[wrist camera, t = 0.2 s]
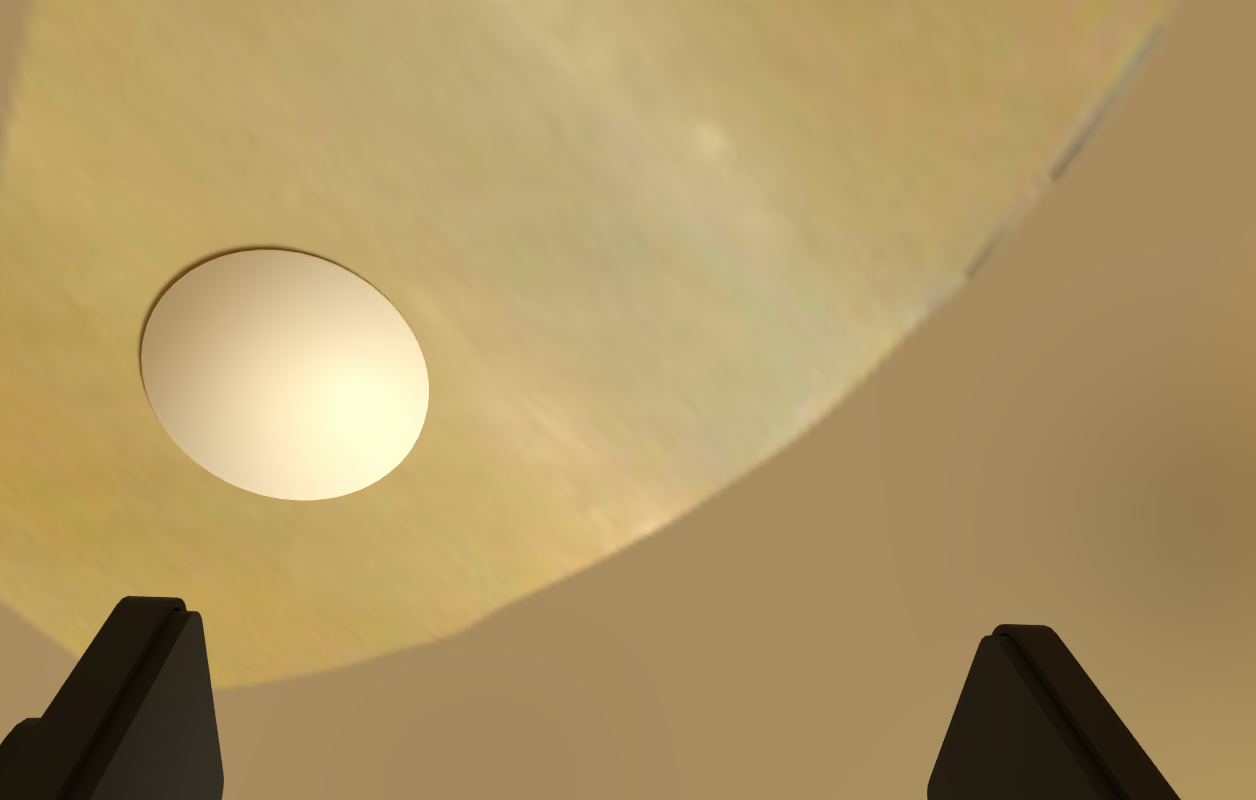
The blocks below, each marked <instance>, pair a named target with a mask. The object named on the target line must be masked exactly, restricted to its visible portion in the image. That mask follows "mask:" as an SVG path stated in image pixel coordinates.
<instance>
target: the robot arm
mask: <svg viewBox="0 0 1256 800" xmlns="http://www.w3.org/2000/svg"><path fill="white" fill-rule="evenodd" d="M223 785H224V776H223V768H222V760H221V753H220V746H219V739H218V731H217V724H216V717H215V710H214V702H213V695H212V688H211V680H210V673H209V666H208V659H207V651H206V644H205V637H204V630H203V623H202V618H201V615H200V613H199V612H196V611H187V610H186V606H185V603H184V601H183V600H182V599H180V598H172V597H140V596H127V597H125V598H123V599H121V601H120V602H119V603H118V604H117V605H116V607H115V608H114V610H113V611H112V613H111V614H110V616H109V617H108V619H107V620H106V622H105V623H104V625H103V626H102V628H101V629H100V631H99V632H98V634H97V635H96V637H95V638H94V640H93V641H92V643H91V644H90V646H89V647H88V649H87V650H86V651H85V653H84V654H83V656H82V657H81V659H80V660H79V662H78V663H77V665H76V667H75V668H74V669H73V671H72V672H71V674H70V676H69V677H68V679H67V680H66V681H65V683H64V684H63V686H62V687H61V689H60V690H59V692H58V693H57V695H56V696H55V698H54V699H53V701H52V702H51V704H50V705H49V707H48V708H47V710H46V711H45V713H44V714H43V716H42V717H41V718H27V719H25V720H23V721H22V722H20V723H19V724H17V725H16V726H15V727H14V728H13V729H12V731H11V732H10V733H9V734H8V735H7V736H6V738H5V739H4V740H3V742H2V743H1V745H0V800H221V799H222V794H223ZM927 798H928V800H1181V799H1180V798H1179V797H1178V795H1177V794H1176V793H1175V791H1174V790H1173V789H1172V787H1171V786H1170V785H1169V784H1168V782H1167V781H1166V779H1165V778H1164V777H1163V775H1162V774H1161V773H1160V771H1159V770H1158V769H1157V767H1156V766H1155V765H1154V763H1153V762H1152V761H1151V759H1150V758H1149V757H1148V755H1147V754H1146V753H1145V751H1144V750H1143V749H1142V747H1141V746H1140V745H1139V743H1138V742H1137V741H1136V739H1135V738H1134V737H1133V735H1132V734H1131V733H1130V731H1129V730H1128V728H1127V727H1126V726H1125V725H1124V723H1123V722H1122V721H1121V719H1120V718H1119V716H1118V715H1117V714H1116V712H1115V711H1114V710H1113V708H1112V707H1111V706H1110V704H1109V703H1108V702H1107V700H1106V699H1105V698H1104V696H1103V695H1102V694H1101V692H1100V691H1099V690H1098V689H1097V687H1096V686H1095V684H1094V683H1093V682H1092V680H1091V679H1090V678H1089V676H1088V675H1087V674H1086V672H1085V671H1084V670H1083V668H1082V667H1081V666H1080V664H1079V663H1078V662H1077V660H1076V659H1075V658H1074V656H1073V655H1072V653H1071V652H1070V651H1069V650H1068V648H1067V647H1066V646H1065V644H1064V643H1063V642H1062V640H1061V639H1060V637H1059V636H1058V635H1057V634H1056V633H1055V632H1054V631H1053V630H1052V629H1051V628H1049V627H1047V626H1045V625H1017V624H1016V625H1015V624H1002V625H999V626H998V627H996V628H995V629H994V631H993V633H992V635H989V636H985V637H984V638H982V640H981V642H980V644H979V646H978V649H977V652H976V654H975V657H974V660H973V662H972V665H971V668H970V671H969V673H968V676H967V679H966V682H965V684H964V687H963V690H962V692H961V695H960V698H959V701H958V704H957V706H956V709H955V712H954V714H953V717H952V720H951V723H950V725H949V728H948V731H947V734H946V736H945V739H944V741H943V744H942V747H941V750H940V752H939V755H938V758H937V760H936V763H935V766H934V769H933V771H932V774H931V777H930V780H929V784H928V789H927Z"/></svg>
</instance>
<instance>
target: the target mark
mask: <svg viewBox="0 0 1256 800" xmlns="http://www.w3.org/2000/svg"><path fill="white" fill-rule="evenodd" d="M141 365H142V376H143V381H144V385H145V390H146V393H147V396H148V398H149V401H150V404H151V406H152V408H153V410H154V412H155V414H156V416H157V418H158V420H159V421H160V423H161V425H162V426H163V427H164V429H165V430H166V432H167V433H168V435H169V436H170V437H171V438H172V440H173V441H174V442H175V443H176V444H177V445H178V446H179V447H180V448H181V449H182V451H184V452H185V453H186V454H187V455H188V456H189V457H190V458H191V459H193V460H194V461H195V462H196V463H197V464H199V465H200V466H202V467H203V468H204V469H206V470H207V471H209V472H210V473H212V474H213V475H215V476H217V477H219V478H221V479H222V480H224V481H226V482H228V483H230V484H233V485H235V486H237V487H239V488H242V489H244V490H247V491H251V492H254V493H257V494H260V495H265V496H269V497H274V498H280V499H290V500H318V499H327V498H333V497H337V496H342V495H346V494H349V493H352V492H355V491H357V490H360V489H363V488H365V487H367V486H369V485H370V484H372V483H374V482H376V481H378V480H379V479H381V478H382V477H384V476H385V475H387V474H388V473H389V472H390V471H392V470H393V469H394V468H395V467H396V466H397V465H398V464H399V463H400V462H401V461H402V460H403V459H404V457H405V456H406V455H407V454H408V453H409V451H410V450H411V448H412V447H413V445H414V443H415V442H416V440H417V438H418V436H419V434H420V431H421V429H422V427H423V424H424V420H425V416H426V412H427V408H428V399H429V382H428V373H427V368H426V363H425V359H424V356H423V353H422V350H421V348H420V345H419V343H418V341H417V339H416V337H415V335H414V333H413V331H412V329H411V327H410V326H409V324H408V323H407V322H406V320H405V319H404V317H403V316H402V314H401V313H400V312H399V311H398V310H397V308H396V307H395V306H394V305H393V304H392V303H391V302H390V301H389V300H388V298H386V297H385V296H384V295H383V294H382V293H381V292H380V291H378V290H377V289H376V288H375V287H374V286H373V285H371V284H370V283H368V282H367V281H365V280H364V279H362V278H361V277H359V276H358V275H356V274H355V273H353V272H351V271H349V270H347V269H345V268H343V267H341V266H339V265H337V264H335V263H332V262H329V261H327V260H324V259H322V258H319V257H315V256H311V255H307V254H304V253H299V252H292V251H285V250H265V249H259V250H250V251H241V252H237V253H232V254H228V255H224V256H221V257H218V258H216V259H213V260H211V261H208V262H205V263H204V264H202V265H200V266H198V267H197V268H195V269H193V270H191V271H189V272H188V273H187V274H186V275H184V276H183V277H182V278H181V279H179V280H178V281H177V282H176V283H174V284H173V285H172V287H171V288H170V289H169V290H168V291H167V292H166V293H165V294H164V295H163V296H162V298H161V299H160V301H159V302H158V304H157V305H156V307H155V309H154V310H153V312H152V314H151V317H150V319H149V321H148V323H147V326H146V330H145V334H144V338H143V342H142V353H141Z"/></svg>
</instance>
